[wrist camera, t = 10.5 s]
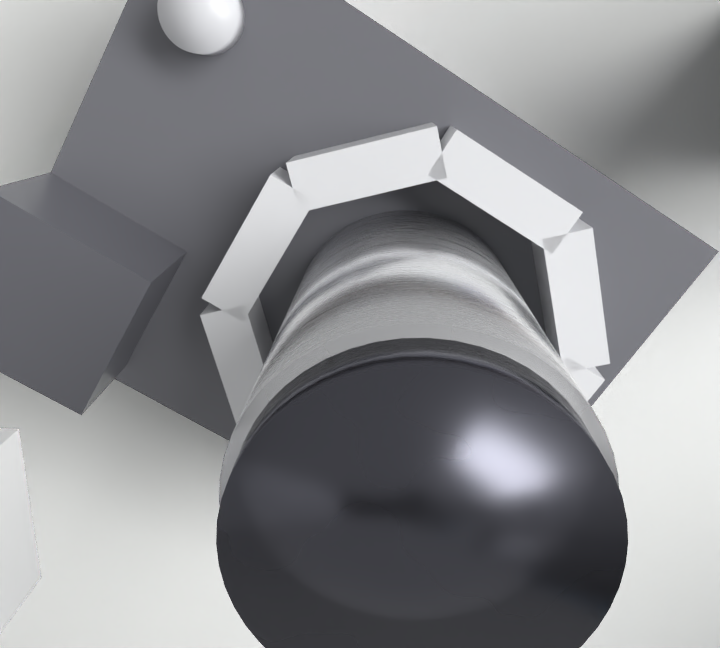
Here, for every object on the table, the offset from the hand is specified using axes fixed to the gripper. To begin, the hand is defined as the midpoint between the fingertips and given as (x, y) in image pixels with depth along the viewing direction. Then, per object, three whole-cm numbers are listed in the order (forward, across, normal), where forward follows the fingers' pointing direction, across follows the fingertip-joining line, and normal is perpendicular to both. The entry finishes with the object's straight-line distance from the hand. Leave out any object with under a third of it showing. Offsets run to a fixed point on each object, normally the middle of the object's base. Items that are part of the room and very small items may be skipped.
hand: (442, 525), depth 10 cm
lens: (+9, 0, 0) cm, 9 cm away
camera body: (+17, +2, -2) cm, 17 cm away
